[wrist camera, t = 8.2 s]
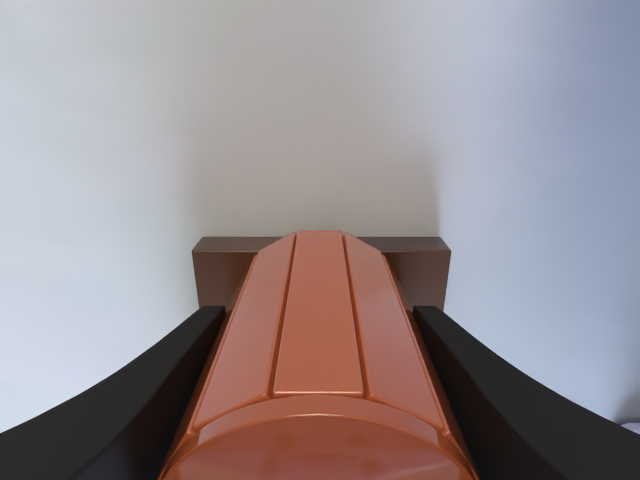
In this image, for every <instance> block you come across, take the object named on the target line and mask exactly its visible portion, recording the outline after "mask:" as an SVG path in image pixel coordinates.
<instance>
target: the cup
mask: <svg viewBox="0 0 640 480" xmlns="http://www.w3.org/2000/svg"><path fill="white" fill-rule="evenodd" d="M157 480H480V479H479V476H478V474H477V471H476V469H475V466H474V464H473V461H472V459H471V456H470V454H469V451H468V449H467V446H466V444H465V441H464V439H463V436H462V434H461V431H460V429H459V426H458V424H457V421H456V419H455V417H454V414H453V412H452V409H451V407H450V404H449V402H448V399H447V397H446V394H445V392H444V389H443V387H442V384H441V382H440V379H439V377H438V374H437V372H436V369H435V367H434V364H433V362H432V359H431V357H430V354H429V352H428V349H427V347H426V345H425V342H424V340H423V337H422V335H421V332H420V330H419V327H418V325H417V322H416V320H415V317H414V315H413V312H412V310H411V307H410V305H409V302H408V300H407V297H406V295H405V292H404V290H403V287H402V285H401V283H400V282H399V280H398V278H397V276H396V275H395V273H394V271H393V269H392V267H391V266H390V264H389V262H388V260H387V259H386V257H385V255H382V253H381V251H379V250H377V249H376V248H374V247H372V246H370V245H368V244H366V243H365V242H363V241H361V240H359V239H357V238H355V237H354V236H352V235H350V234H348V233H346V232H345V233H344V234H343V235H342V232H341V231H298V232H297V235H296V234H295V233H294V232H293V233H291V234H289V235H287V236H285V237H283V238H282V239H280V240H278V241H276V242H274V243H273V244H271V245H269V246H267V247H265V248H263V249H262V250H260V251H258V253H257V255H254V257H253V259H252V260H251V262H250V264H249V266H248V267H247V269H246V271H245V273H244V275H243V276H242V278H241V280H240V282H239V283H238V285H237V288H236V290H235V292H234V295H233V297H232V300H231V302H230V304H229V307H228V309H227V312H226V314H225V316H224V319H223V321H222V324H221V326H220V329H219V331H218V333H217V336H216V338H215V341H214V343H213V345H212V348H211V350H210V353H209V355H208V357H207V360H206V362H205V365H204V367H203V370H202V372H201V374H200V377H199V379H198V382H197V384H196V386H195V389H194V391H193V394H192V396H191V398H190V401H189V403H188V406H187V408H186V410H185V413H184V415H183V418H182V420H181V423H180V425H179V427H178V430H177V432H176V435H175V437H174V439H173V442H172V444H171V447H170V449H169V451H168V454H167V456H166V459H165V461H164V464H163V466H162V468H161V471H160V473H159V476H158V478H157Z"/></svg>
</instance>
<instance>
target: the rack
mask: <svg viewBox="0 0 640 480" xmlns="http://www.w3.org/2000/svg"><path fill="white" fill-rule="evenodd" d="M282 238H283V237H202V238H201V240H200V241H199V242H198V243H197V245H196V246H195V247H194V249H193V250H192V257H193V265H194V272H195V279H196V287H197V294H198V302H199V309H200V308H201V307H203V306H225V309H226V312H227V309H228V307H229V304H230V302H231V300H232V297H233V295H234V292H235V290H236V288H237V285H238V283H239V282H240V280H241V278H242V276H243V275H244V273H245V271H246V269H247V267H248V266H249V264H250V262H251V260H252V259H253V257H254V255H257V253H258V251H260V250H262V249H263V248H265V247H267V246H269V245H271V244H273V243H274V242H276V241H278V240H280V239H282ZM355 238H357V239H359V240H361V241H363V242H365V243H366V244H368V245H370V246H372V247H374V248H376V249H377V250H379V251H381V253H382V255H385V257H386V259H387V260H388V262H389V264H390V266H391V267H392V269H393V271H394V273H395V275H396V276H397V278H398V280H399V282H400V283H401V285H402V287H403V290H404V292H405V295H406V297H407V300H408V302H409V305H410V307H411V310H412V312H413V306H436V307H437V308H439V309H440V310H441V311H443V308H444V301H445V294H446V287H447V279H448V272H449V265H450V257H451V250H450V249H449V247H448V246H447V245H446V244H445V242H444V241H443V240H442V238H440V237H355Z"/></svg>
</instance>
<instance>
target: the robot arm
mask: <svg viewBox="0 0 640 480" xmlns="http://www.w3.org/2000/svg"><path fill="white" fill-rule="evenodd" d="M225 314H226V309H225V306H203V307H201V308H200V309H199V310H197V311H196V312H195V313H194V314H192V315H191V316H190V317H189V318H187V319H186V320H185V321H184V322H183V323H181V324H180V325H179V326H178V327H176V328H175V329H174V330H173V331H171V332H170V333H169V334H168V335H166V336H165V337H164V338H163V339H161V340H160V341H159V342H157V343H156V344H155V345H154V346H152V347H151V348H149V349H148V350H147V351H145V352H144V353H142V354H141V355H140V356H138V357H137V358H135V359H134V360H133V361H131V362H130V363H129V364H127V365H126V366H124V367H123V368H121V369H120V370H118V371H117V372H115V373H114V374H112V375H111V376H109V377H107V378H106V379H104V380H102V381H101V382H99V383H97V384H96V385H94V386H92V387H91V388H89V389H87V390H86V391H84V392H82V393H80V394H79V395H77V396H75V397H73V398H71V399H69V400H67V401H65V402H63V403H62V404H60V405H58V406H56V407H54V408H52V409H50V410H48V411H46V412H44V413H42V414H40V415H39V416H37V417H35V418H33V419H30V420H28V421H26V422H24V423H22V424H20V425H18V426H15V427H13V428H11V429H9V430H7V431H4V432H2V433H0V480H157V478H158V476H159V473H160V471H161V468H162V466H163V464H164V461H165V459H166V456H167V454H168V451H169V449H170V447H171V444H172V442H173V439H174V437H175V435H176V432H177V430H178V427H179V425H180V423H181V420H182V418H183V415H184V413H185V410H186V408H187V406H188V403H189V401H190V398H191V396H192V394H193V391H194V389H195V386H196V384H197V382H198V379H199V377H200V374H201V372H202V370H203V367H204V365H205V362H206V360H207V357H208V355H209V353H210V350H211V348H212V345H213V343H214V341H215V338H216V336H217V333H218V331H219V329H220V326H221V324H222V321H223V319H224V316H225ZM413 315H414V317H415V320H416V322H417V325H418V327H419V330H420V332H421V335H422V337H423V340H424V342H425V345H426V347H427V349H428V352H429V354H430V357H431V359H432V362H433V364H434V367H435V369H436V372H437V374H438V377H439V379H440V382H441V384H442V387H443V389H444V392H445V394H446V397H447V399H448V402H449V404H450V407H451V409H452V412H453V414H454V417H455V419H456V421H457V424H458V426H459V429H460V431H461V434H462V436H463V439H464V441H465V444H466V446H467V449H468V451H469V454H470V456H471V459H472V461H473V464H474V466H475V469H476V471H477V474H478V476H479V479H480V480H640V423H625V424H622V425H618V424H616V423H614V422H612V421H609V420H607V419H605V418H603V417H601V416H599V415H597V414H595V413H593V412H592V411H590V410H588V409H586V408H584V407H582V406H580V405H578V404H576V403H574V402H572V401H570V400H568V399H567V398H565V397H563V396H561V395H559V394H558V393H556V392H554V391H552V390H551V389H549V388H547V387H546V386H544V385H542V384H541V383H539V382H537V381H536V380H534V379H532V378H531V377H529V376H528V375H526V374H525V373H523V372H521V371H520V370H518V369H517V368H516V367H514V366H513V365H511V364H510V363H508V362H507V361H505V360H504V359H503V358H501V357H500V356H498V355H497V354H496V353H494V352H493V351H492V350H490V349H489V348H487V347H486V346H485V345H484V344H482V343H481V342H480V341H478V340H477V339H476V338H475V337H473V336H472V335H471V334H470V333H468V332H467V331H466V330H465V329H463V328H462V327H461V326H460V325H458V324H457V323H456V322H455V321H454V320H452V319H451V318H450V317H449V316H447V315H446V314H445V313H444V312H443V311H441V310H440V309H439V308H437V307H436V306H413Z"/></svg>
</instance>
